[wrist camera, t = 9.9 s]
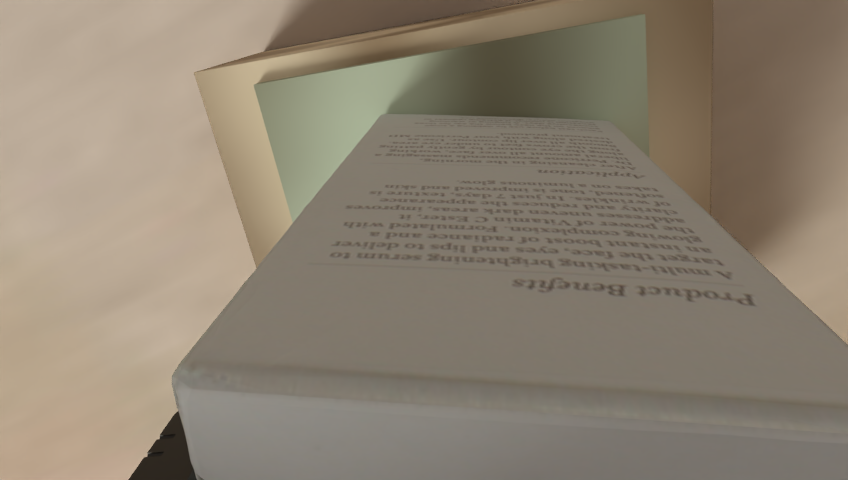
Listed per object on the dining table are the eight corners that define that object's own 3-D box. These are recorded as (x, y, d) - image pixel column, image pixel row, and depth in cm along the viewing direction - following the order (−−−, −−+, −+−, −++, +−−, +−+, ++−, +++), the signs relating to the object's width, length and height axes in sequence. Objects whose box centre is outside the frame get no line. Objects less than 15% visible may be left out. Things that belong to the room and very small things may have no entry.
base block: (649, -21, 17) (718, -25, 12) (658, 328, 21) (711, 427, 17) (262, 51, 19) (188, 74, 14) (347, 360, 23) (313, 459, 18)
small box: (575, 394, 17) (715, 956, 7) (381, 382, 17) (259, 899, 7) (617, 112, 13) (985, 435, 4) (376, 105, 14) (148, 380, 4)
